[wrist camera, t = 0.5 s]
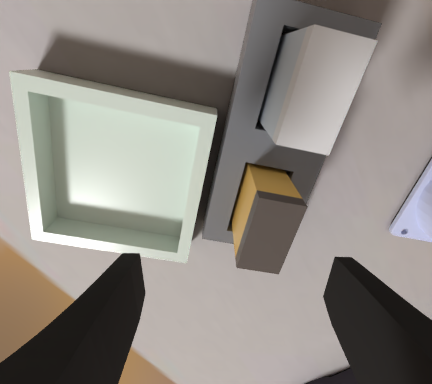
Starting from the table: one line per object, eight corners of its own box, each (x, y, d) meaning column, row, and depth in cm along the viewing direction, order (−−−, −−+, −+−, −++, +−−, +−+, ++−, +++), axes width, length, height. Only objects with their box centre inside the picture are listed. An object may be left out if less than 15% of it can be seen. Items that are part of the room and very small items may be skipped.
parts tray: (216, 108, 16) (217, 115, 14) (189, 243, 21) (186, 263, 19) (36, 69, 15) (8, 71, 13) (50, 220, 20) (31, 239, 18)
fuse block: (359, 28, 14) (381, 23, 12) (278, 233, 20) (285, 252, 19) (252, 0, 14) (259, -10, 12) (203, 220, 20) (202, 238, 18)
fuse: (318, 47, 15) (377, 40, 9) (292, 124, 17) (328, 155, 11) (277, 36, 14) (314, 24, 9) (255, 116, 16) (275, 144, 11)
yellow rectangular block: (279, 162, 18) (307, 206, 12) (261, 215, 20) (278, 274, 14) (245, 155, 18) (259, 197, 12) (230, 210, 20) (236, 267, 14)
